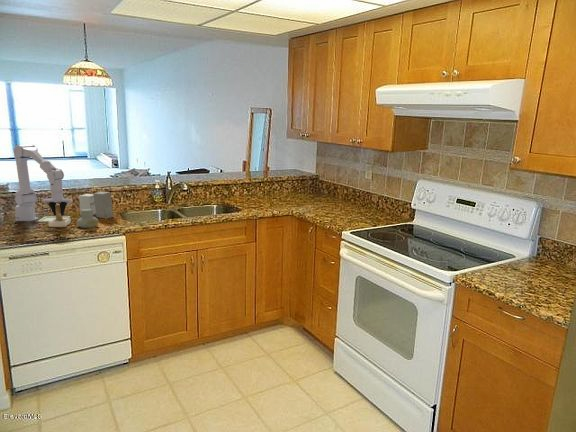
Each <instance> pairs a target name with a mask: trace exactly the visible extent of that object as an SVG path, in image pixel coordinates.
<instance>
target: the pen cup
mask: <svg viewBox="0 0 576 432" xmlns="http://www.w3.org/2000/svg"><path fill="white" fill-rule="evenodd" d="M71 221H72V220H71V218H69V219H63V221H56V219H53V220H51V221H50V222H47V224H48V227H51V228H53V227H55V228H57V227H58V228H59V227H60V228H62V227H65V228H66V227H67V226H68V225H70V224H71V223H72V222H71Z"/></svg>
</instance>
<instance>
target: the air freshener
mask: <svg viewBox="0 0 576 432" xmlns="http://www.w3.org/2000/svg"><path fill="white" fill-rule="evenodd" d="M80 216H81V217H79V218H78V219H77V220H76V225H77V226H78V227H80V228H82V229H90V228H91V229H92V228H94V227H96V226H98V225H99V219H98V217H96V216H95V215H93V211H92V209H82V210H81V215H80Z"/></svg>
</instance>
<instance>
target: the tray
mask: <svg viewBox="0 0 576 432" xmlns="http://www.w3.org/2000/svg"><path fill="white" fill-rule="evenodd" d="M62 218H63V219H71V215H63V216H62ZM53 219H56V216H54V215H48V216H47V215H45V216H44V217H42V218H40V219H39V220H37V221H36V222H37V223H48V222H50V221H51V220H53Z"/></svg>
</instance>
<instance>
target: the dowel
mask: <svg viewBox="0 0 576 432" xmlns="http://www.w3.org/2000/svg"><path fill="white" fill-rule="evenodd" d="M55 212H56V221H63V218H62V216H61V208H60V203H59V204H56V205H55Z"/></svg>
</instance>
